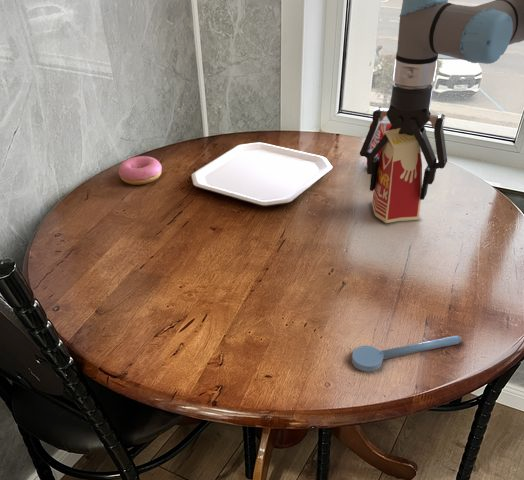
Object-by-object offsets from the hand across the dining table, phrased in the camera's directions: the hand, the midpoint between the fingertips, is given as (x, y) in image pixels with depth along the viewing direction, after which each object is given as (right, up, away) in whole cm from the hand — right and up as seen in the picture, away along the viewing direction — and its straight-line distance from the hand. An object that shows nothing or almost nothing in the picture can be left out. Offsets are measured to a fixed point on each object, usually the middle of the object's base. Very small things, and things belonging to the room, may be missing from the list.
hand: (397, 192), depth 117 cm
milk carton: (0, -4, +3) cm, 5 cm away
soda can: (+1, +12, +20) cm, 24 cm away
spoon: (-7, -35, -30) cm, 46 cm away
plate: (-29, +9, +18) cm, 36 cm away
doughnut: (-60, +10, +21) cm, 65 cm away
